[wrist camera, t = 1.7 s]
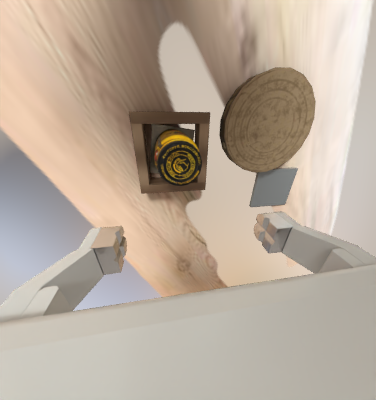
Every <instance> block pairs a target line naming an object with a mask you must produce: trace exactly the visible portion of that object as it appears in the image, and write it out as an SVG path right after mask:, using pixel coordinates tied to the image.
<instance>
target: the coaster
mask: <svg viewBox="0 0 376 400" xmlns="http://www.w3.org/2000/svg"><path fill="white" fill-rule="evenodd" d="M297 170H298V168H277V169H272V170H270V171H267V172H257V175H256V180H255V184H254V188H253V193H252V197H251V201H250V207H260V206H272V205H284V204H285V203H286V200H287V197H288V195H289V192H290V189H291V186H292V183H293V181H294V178H295V175H296V172H297Z"/></svg>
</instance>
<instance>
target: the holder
mask: <svg viewBox="0 0 376 400" xmlns="http://www.w3.org/2000/svg"><path fill="white" fill-rule="evenodd" d="M129 116H130V122H131V129H132V135H133V142H134V148H135V155H136V161H137V168H138V174H139V180H140V187H141V193H158V192H174V191H191V190H205V184H206V169H207V168H206V167H207V154H208V138H209V122H210V113H209V112H207V113H206V112H205V113H204V112H129ZM144 124H195V144H196V146H197V147H198V150H199V153H200V155H201V159H202V168H201V172H200V174H199V175H198V177H197V178H196V179H195V181H193V182H191V183H190V184H188V185H184V186H175V185H171V184H169V183H168V182H166V181H165V180H164V179H163V178H150V171H149V162H148V154H147V145H146V137H145V128H144Z"/></svg>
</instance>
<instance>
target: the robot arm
mask: <svg viewBox="0 0 376 400" xmlns="http://www.w3.org/2000/svg"><path fill="white" fill-rule="evenodd" d="M256 220H257V223H256V224H255V226H254V234H255V236H256V238H257V239H258V240H259V241H261V242H262V245H263V247H264V248H265V249H266V251H268V253H277V252H282V253H283V254H285V255H286V256H288V257H289V258H291V259H293V260H294V261H296V262H297V263H299V264H300V265H302V266H304V267H305V268H307V269H308V270H310V271H311V272H313V273H314V274H309V275H303V276H297V277H291V278H284V279H277V280H271V281H265V282H258V283H252V284H246V285H239V286H232V287H226V288H219V289H213V290H206V291H200V292H193V293H187V294H180V295H174V296H168V297H161V298H155V299H148V300H142V301H135V302H129V303H122V304H116V305H110V306H103V307H97V308H90V309H84V310H77V311H73V310H74V309H75V307H76V306H77V305H78V304H79V303H80V302H81V301H82V300H83V298H84V297H85V296H86V295H87V294H88V293H89V292H90V291H91V289H92V288H93V287H94V286H95V285H96V284H97V283H98V282H99V281H100V279H101V278H102V277H103V275H106V274H113V273H119V272H121V271H122V267H123V263H124V260H123V257H124V256H125V255H126V251H127V242H126V238H125V237H124V236H123V234H124V230H123V227H122V226H115V227H103V228H102V227H101V228H93V229H91V230H90V231H89V233H88V235H87V236H86V238H85V239H84V241H83V242H82V244H81V246H80V247H79V249H78V250H77V251H73V252H71V253H70V254H68V255H67V256H65V257H64V258H62V259H61V260H59V261H58V262H56V263H55V264H53V265H52V266H50V267H49V268H47V269H46V270H44V271H43V272H41V273H40V274H38V275H37V276H35V277H33V278H32V279H30V280H29V281H28V282H26V283H25V284H23V285H21V286H20V287H18V288H17V289H15V290H14V291H13V292H12V293H11V295H10V296H9V297H8V298H7V299H6V300H5V302H4V303H3V304H2V305H1V306H0V400H376V258H375V257H374V256H373V255H371V254H369V253H368V252H366V251H365V250H363V249H362V248H360V247H359V246H357V245H354V244H352V243H349V242H346V241H344V240H341V239H338V238H335V237H333V236H330V235H327V234H325V233H322V232H319V231H316V230H314V229H311V228H308V227H305V226H301V225H300V224H299V223H297V222H296V221H295V220H293V219H292V218H291V217H289V216H288V215H287V214H286V213H284V212H274V213H264V214H258V216H257V218H256Z"/></svg>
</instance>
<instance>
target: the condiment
mask: <svg viewBox="0 0 376 400" xmlns="http://www.w3.org/2000/svg"><path fill="white" fill-rule="evenodd" d="M194 131H195V130H191V129H184V128H178V127H172V126H165V125H159V124H152V136H151V162H150V163H151V164H150V173H159V174H160V176H161V177H162V178H163V179H164V180H165V181H166V182H168V183H169V184H171V185H175V186H184V185H188V184H190V183H191V182H193V181H195V179H196V178H197V177H198V175H199V174H200V172H201V168H202V159H201V155H200V153H199V150H198V147H197V146H196V144H195V143H194V142H193V138H194Z"/></svg>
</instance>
